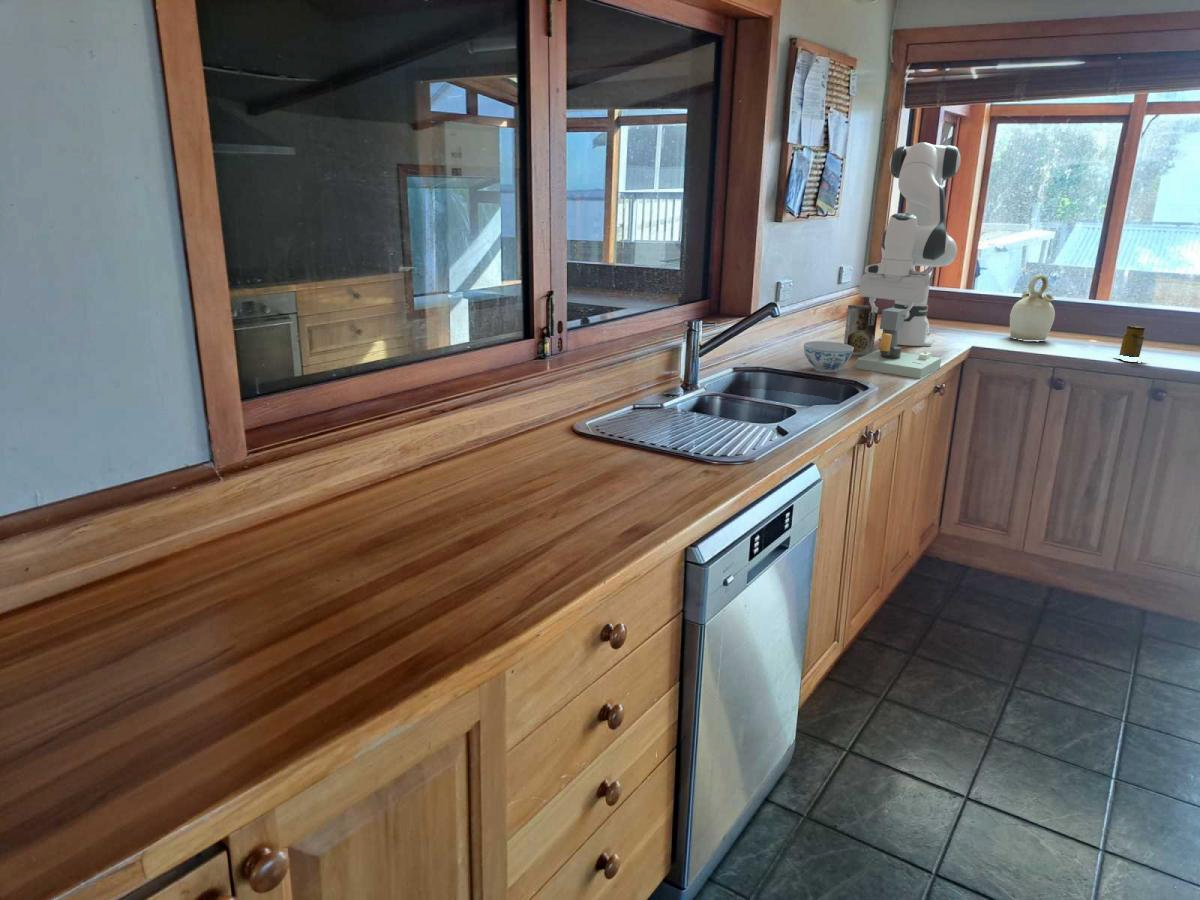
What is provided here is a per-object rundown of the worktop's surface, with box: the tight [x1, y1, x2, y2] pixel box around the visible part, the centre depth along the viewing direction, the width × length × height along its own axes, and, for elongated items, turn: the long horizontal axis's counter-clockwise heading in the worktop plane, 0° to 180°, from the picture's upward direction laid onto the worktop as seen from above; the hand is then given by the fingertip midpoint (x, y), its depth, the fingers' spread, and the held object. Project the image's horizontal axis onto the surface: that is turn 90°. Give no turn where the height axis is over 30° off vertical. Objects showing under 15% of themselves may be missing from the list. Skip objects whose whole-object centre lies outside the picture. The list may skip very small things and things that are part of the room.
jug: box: [1009, 274, 1056, 341], centre depth 328 cm, size 15×16×25 cm
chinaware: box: [803, 340, 854, 373], centre depth 263 cm, size 15×15×8 cm
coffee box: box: [843, 304, 879, 356], centre depth 289 cm, size 9×6×16 cm
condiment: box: [1118, 324, 1146, 358], centre depth 295 cm, size 7×8×12 cm
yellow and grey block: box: [879, 333, 902, 358], centre depth 269 cm, size 12×6×8 cm, turn 144°
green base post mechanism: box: [855, 307, 942, 379], centre depth 269 cm, size 22×20×17 cm
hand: (889, 314), depth 262 cm, fingers open, 8 cm apart
